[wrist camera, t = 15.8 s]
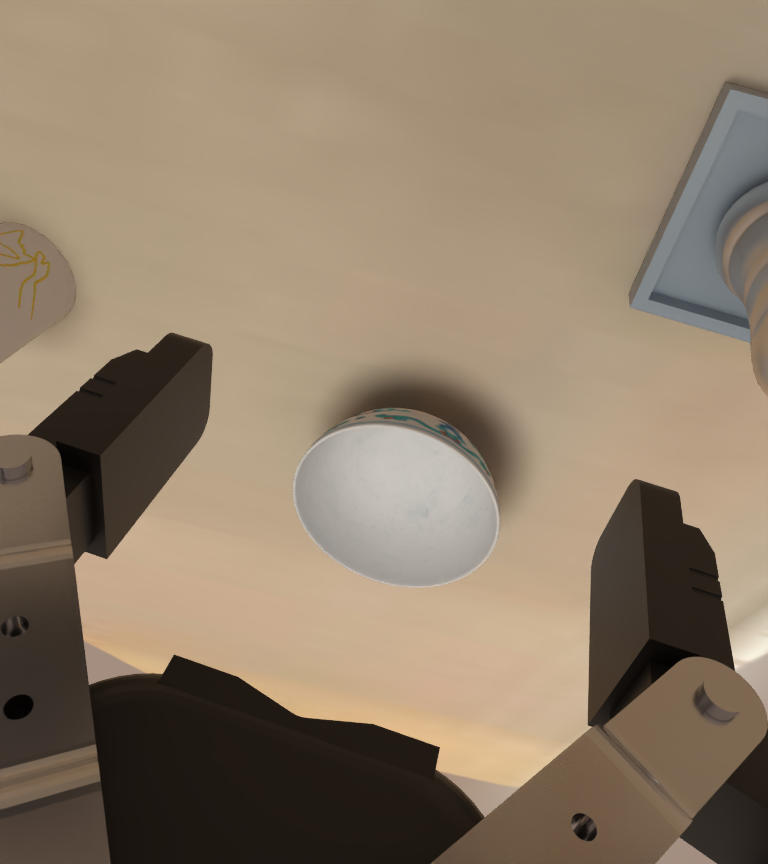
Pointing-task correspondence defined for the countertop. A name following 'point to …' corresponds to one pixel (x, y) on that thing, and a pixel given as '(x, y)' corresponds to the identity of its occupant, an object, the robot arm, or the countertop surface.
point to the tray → (706, 219)
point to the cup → (30, 286)
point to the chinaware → (398, 498)
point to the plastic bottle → (748, 268)
